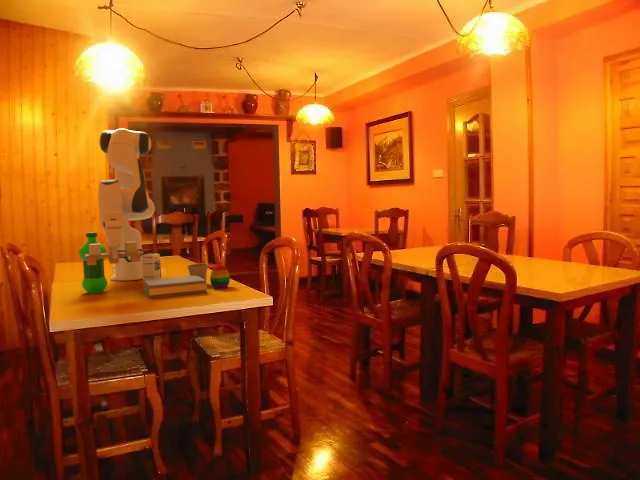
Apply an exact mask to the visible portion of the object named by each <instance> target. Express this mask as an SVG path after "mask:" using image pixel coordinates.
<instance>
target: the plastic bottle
mask: <svg viewBox="0 0 640 480" xmlns="http://www.w3.org/2000/svg"><path fill="white" fill-rule="evenodd" d="M97 237H98V232H95V231H93V232H85V238H87V240H86V242H85V243H84V244H83V245H82V246H80V247H79V249H78V256H79V258H80V259H81V260H82V269H83V278H82V282H81V287H82V289H83V290H85V292H87V293H88V294H92V295H93V294H101V293H102V292H103V291H104V290H105V289H106V288H107V286H108V279H107V278H106V276H105V263H104V260H105V258H97V259H96V265H88V264H87V259H86V258H85V254H89V244H99V243H100V242H99V241H97ZM100 244H101V253H107V248H106V247H105V246H104V245H103V244H102V243H100Z"/></svg>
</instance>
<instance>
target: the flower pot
mask: <svg viewBox="0 0 640 480" xmlns="http://www.w3.org/2000/svg"><path fill="white" fill-rule="evenodd" d="M186 267H187V270H188V273H189V276H194V275H197V276H199V277H201V278H203V279H204V280H206V281H207V273H208V267H209V264H208V263H194V264H193V263H192V264H191V263H190V264H188V265H186Z"/></svg>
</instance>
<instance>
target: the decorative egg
mask: <svg viewBox="0 0 640 480" xmlns="http://www.w3.org/2000/svg"><path fill="white" fill-rule="evenodd" d="M229 272H230V271H228V269H227V267H226V266H224V264H222V263H221V264H219V263H218V264H216V265H215V266H214V267H213V268H212V270H211V272H210V277H209V278H210V284H211V286H212V288H213V289H218V290H219V289H221V290H222V289H226V288H228V287H229V285H230V281H231V279H230V278H231V277H230V273H229Z"/></svg>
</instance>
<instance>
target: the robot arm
mask: <svg viewBox="0 0 640 480" xmlns="http://www.w3.org/2000/svg"><path fill="white" fill-rule="evenodd" d="M98 142H99V143H98V144H99V147H100V150H101V151H102V152H103V153H105V154H107V155H106V156H107V157H106V158H107V161H108V163H109V164H108V165H110V166H111V167H112V168H113V169H114V179H103V180H101V181H100V182H99V183H98V193H97V194H98V196H97V197H98V198H97V202H98V213H99V215H98V216H99V227H100V228H103V231H104V232H105V240H106V241H105V242H106V244H107V245H108V246H109V251H110V252H109V253H112V258H113V259H117V258H118V252H125V242H133V241H136V242H137V251H140V252H141V253H142V255H144V249H143V245H142V234H141V232H140V231H139V230H138V229H137V228H135V227H132V226H131V225H130V223H129V221H141V220H146V219H150V218H152V217H153V215H154V214H155V210H156V209H155V208H156V207H155V204H154V202H153V200H152V199H150V195H149V192H148V188H147V183H146V182H147V181H146V176H145V171H144V170H145V169H144V165H143V162H142V160H141V159H140V158H143V156H147V155H148V154H149V153H150V151H151V148H152V140H151V138H150V135H149V133H147V132H144V131H136V130H129V129H127V128H116V130H111V129H107V130H106V129H105V130H103V131H102V132H101V133H100V136H99V140H98ZM142 255H140V259H141V262H132V261H131V256H125V257H119V263H114V264H112V265H113V266H112V271H113V275H112V276H111V277H110V281H136V280H143V270H142Z"/></svg>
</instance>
